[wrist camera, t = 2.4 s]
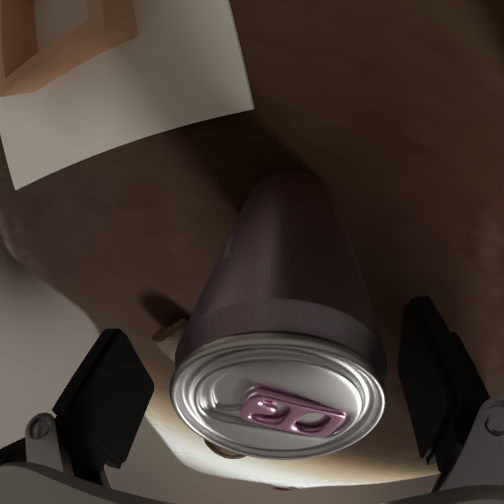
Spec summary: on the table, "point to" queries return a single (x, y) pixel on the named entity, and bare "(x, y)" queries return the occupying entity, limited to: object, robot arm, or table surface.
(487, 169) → the table surface
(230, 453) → the pipe
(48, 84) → the white board with box
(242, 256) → the beverage can
